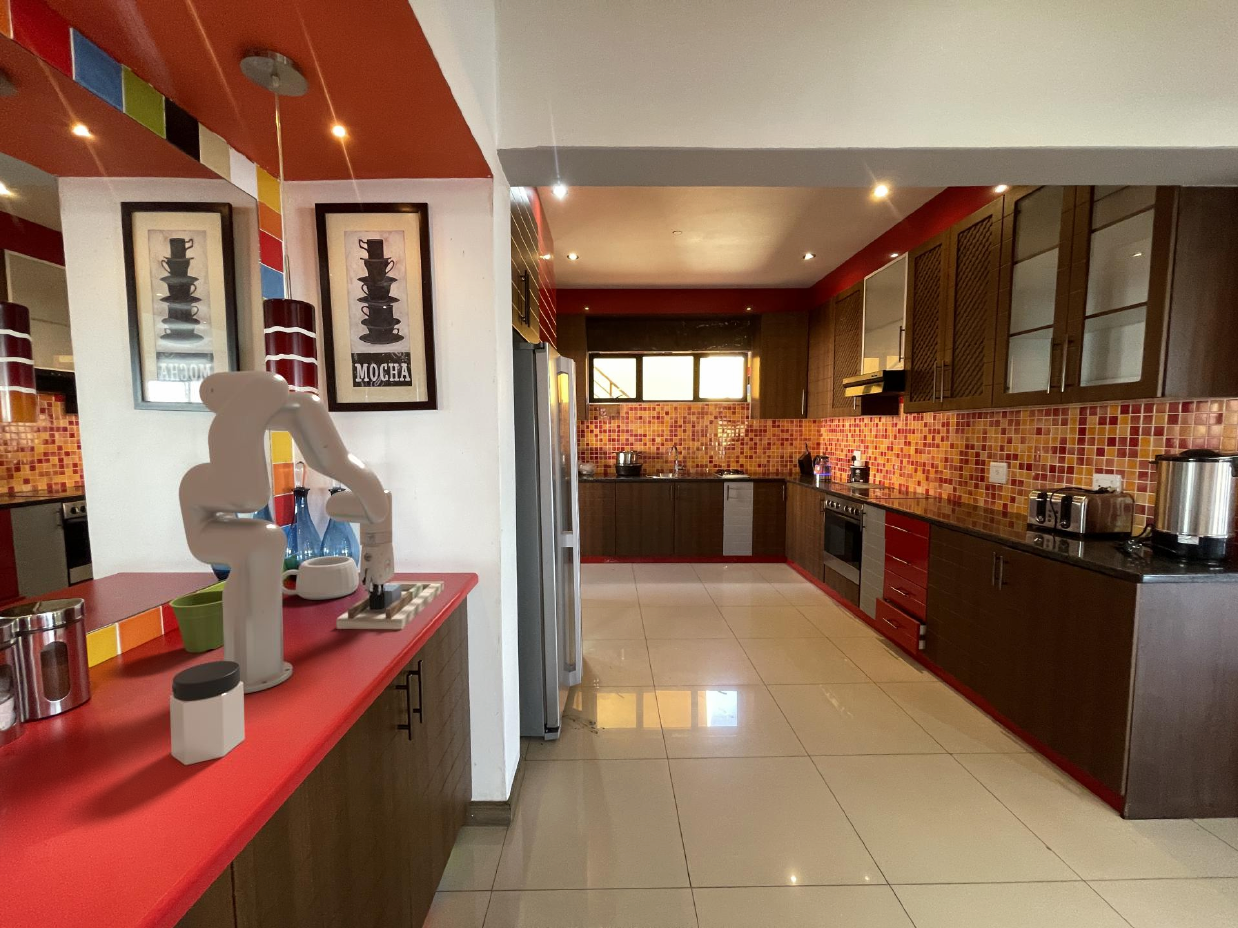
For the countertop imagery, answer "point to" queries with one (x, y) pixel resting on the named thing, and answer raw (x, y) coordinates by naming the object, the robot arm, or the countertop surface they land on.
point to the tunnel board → (392, 607)
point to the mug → (324, 578)
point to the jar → (206, 711)
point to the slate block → (391, 594)
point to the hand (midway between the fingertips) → (377, 608)
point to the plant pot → (200, 620)
